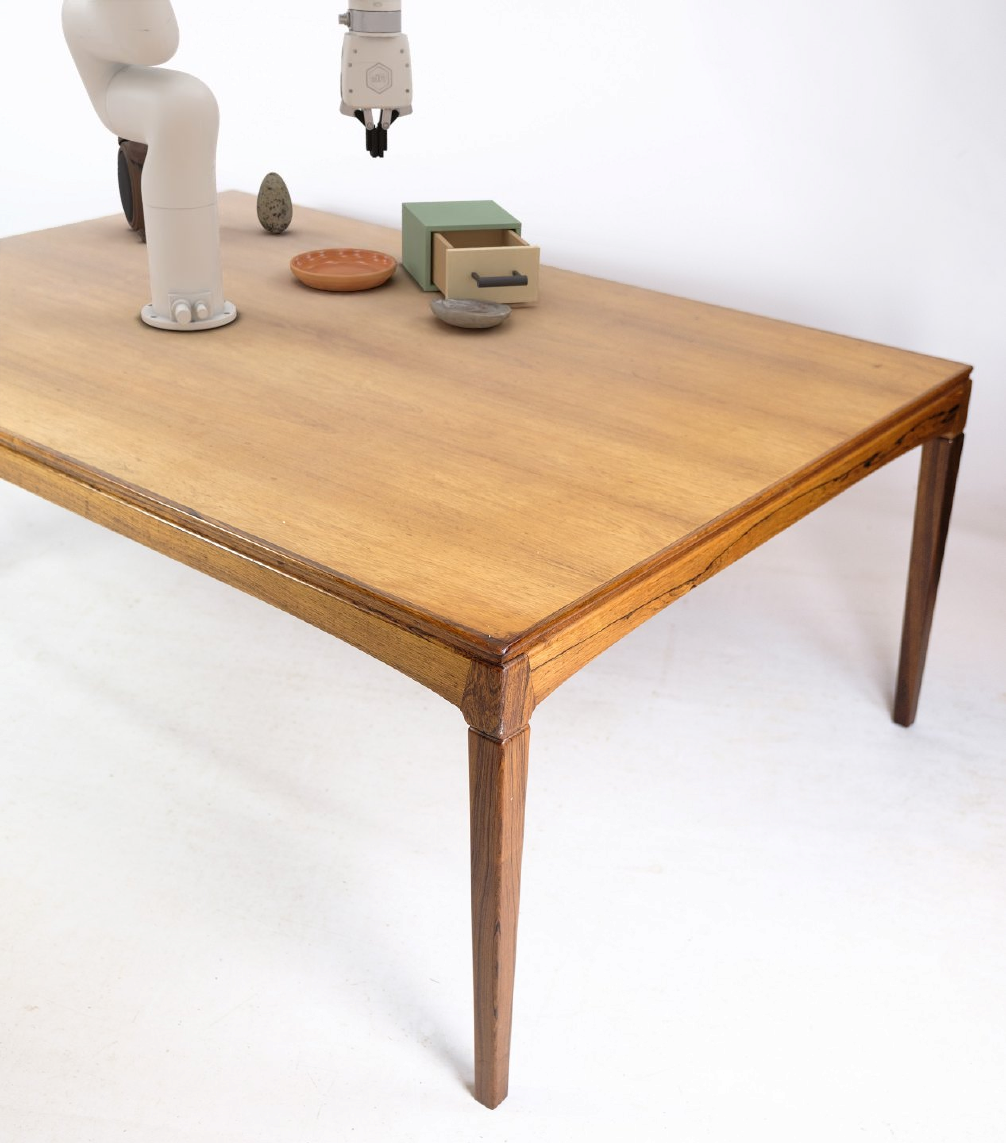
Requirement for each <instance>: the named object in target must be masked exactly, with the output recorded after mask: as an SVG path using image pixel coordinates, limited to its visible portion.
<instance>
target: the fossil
mask: <svg viewBox="0 0 1006 1143" xmlns="http://www.w3.org/2000/svg"><path fill="white" fill-rule="evenodd" d="M428 305H429V307H430V310H431V312H432V313H433V315H435V316H436V317H437V318H438V319H440V320H441V321H443V322H445V323H447V324H448V325H452V326H455V327H460V328H464V329H487V328H491V327H495V326H498V325H499V324H501V323H503V321H504V320H506V319H507V318H509V317H510V315H511V313H512V311H513V310H512V308H511V307H510V305H509V304H505V303H497V302H491V301H486V300H478V299H445V298H444V299H443V298H438V299H437V298H434V299H430V300H429V301H428Z"/></svg>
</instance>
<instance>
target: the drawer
mask: <svg viewBox="0 0 1006 1143" xmlns="http://www.w3.org/2000/svg"><path fill="white" fill-rule="evenodd" d="M540 257H541V247H540V246H539V245H537V244H536V245H531V244H529V243H528V242H527V241H526V240H525V239H524V238H522V236H521V237H520V236H519V235H517V234H516V233H515V232H514V231H512V230H511V229H487V230H458V231H431V263H430V279H431V280H432V281H433V283H434V284H435V285H436V286H437V287H438V288H439V289H440V290H441V291H440V292H441V293H442V294H443V295H444V296H445V298H444V299H478V300H486V301H491V302H497V303H500V304H517V303H518V304H519V303H535V302H538V300H539V299H538V298H539V282H540V281H539V279H540V278H539V277H540V260H541V258H540Z"/></svg>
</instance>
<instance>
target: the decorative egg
mask: <svg viewBox="0 0 1006 1143" xmlns="http://www.w3.org/2000/svg"><path fill="white" fill-rule="evenodd" d="M258 189H259V190H258V193H257V199H256V215H257V219H258V221H259V223H260V225H261V226H262V228H263V229H264V230H266V231H267V232H269V233H271V234H280V233H282V232H284V231H285V230H287V229H288V227H289V226H290V225H291V222H292V220H293V213H294V212H293V202H292V197H291V194H290V192H289V189H288V186H287V184H286V182H285V181H284V179H283V178H282V176H281V175H279V173H277V172H274V171H272V172H271V171H270V172H268V173H266V174H265V176H264V178H263V179H262V181H261V184H260V186H259V188H258Z"/></svg>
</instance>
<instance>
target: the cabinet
mask: <svg viewBox="0 0 1006 1143" xmlns="http://www.w3.org/2000/svg"><path fill="white" fill-rule="evenodd" d="M487 229H511V230H512V231H514V232H515V233H516V234H517V235H519V236H520V237H521V238H522V222H521V221H519V219H517V218H516V217H515V216H514V215H512V214H511V213H510V212H508V211H507V210H506V209H504V208H503V207H502V206H500V205H499V204H498V203H497V202H495V201H494V200H493V199H484V200H483V199H482V200H481V199H480V200H450V201H449V200H447V201H446V200H445V201H413V202H412V201H411V202H408V201H407V202H401V265H402V266H403V267H404V269H405V270H406V271H407V272H408V274H410V276H412V278H413V279H414V280H415V281H416V283H417V284H418V285H419V286H420V288H422V289H423V291H424V292H434V291H435V292H441V290H440V289H439V288H438V287H437V286H436V285H435V284H434V283H433V281H432V280H431V279H430V263H431V231H458V230H487Z"/></svg>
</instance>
